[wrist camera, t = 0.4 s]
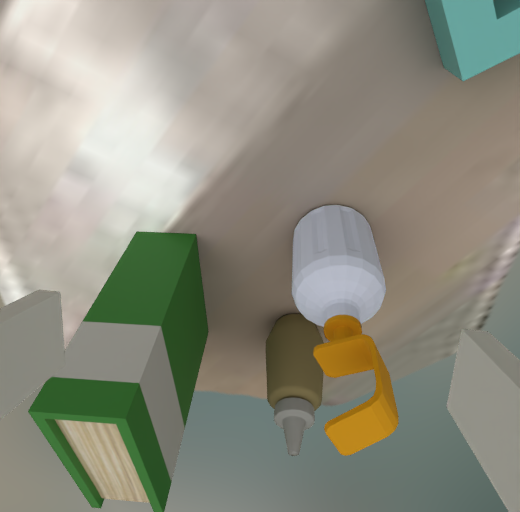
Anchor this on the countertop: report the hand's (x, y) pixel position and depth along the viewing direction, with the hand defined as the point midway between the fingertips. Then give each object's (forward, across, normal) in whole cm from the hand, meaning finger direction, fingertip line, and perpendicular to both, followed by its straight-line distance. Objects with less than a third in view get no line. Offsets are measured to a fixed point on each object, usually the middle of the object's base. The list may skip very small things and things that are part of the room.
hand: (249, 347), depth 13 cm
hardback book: (+37, -14, -11) cm, 42 cm away
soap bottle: (+34, +5, -2) cm, 35 cm away
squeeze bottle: (+40, +2, -17) cm, 44 cm away
